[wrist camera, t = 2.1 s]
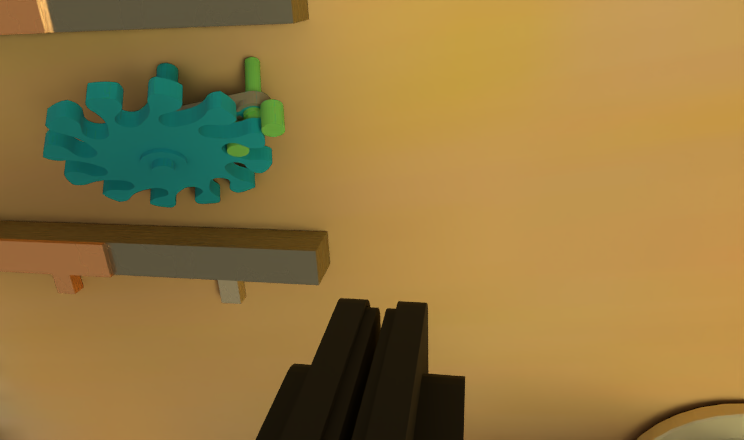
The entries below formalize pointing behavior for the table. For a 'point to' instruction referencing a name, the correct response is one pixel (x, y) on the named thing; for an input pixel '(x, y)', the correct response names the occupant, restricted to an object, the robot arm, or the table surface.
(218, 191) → the gear
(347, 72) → the table surface
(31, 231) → the rail
